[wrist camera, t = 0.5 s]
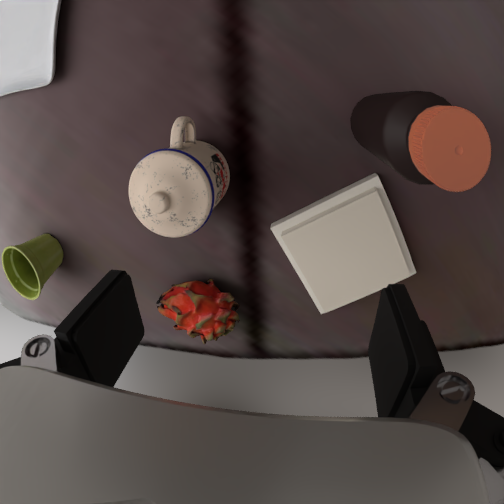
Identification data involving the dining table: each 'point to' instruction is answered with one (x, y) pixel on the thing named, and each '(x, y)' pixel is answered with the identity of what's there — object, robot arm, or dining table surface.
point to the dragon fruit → (199, 309)
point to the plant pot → (32, 264)
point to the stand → (346, 244)
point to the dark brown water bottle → (424, 138)
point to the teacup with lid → (179, 183)
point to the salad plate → (27, 43)
